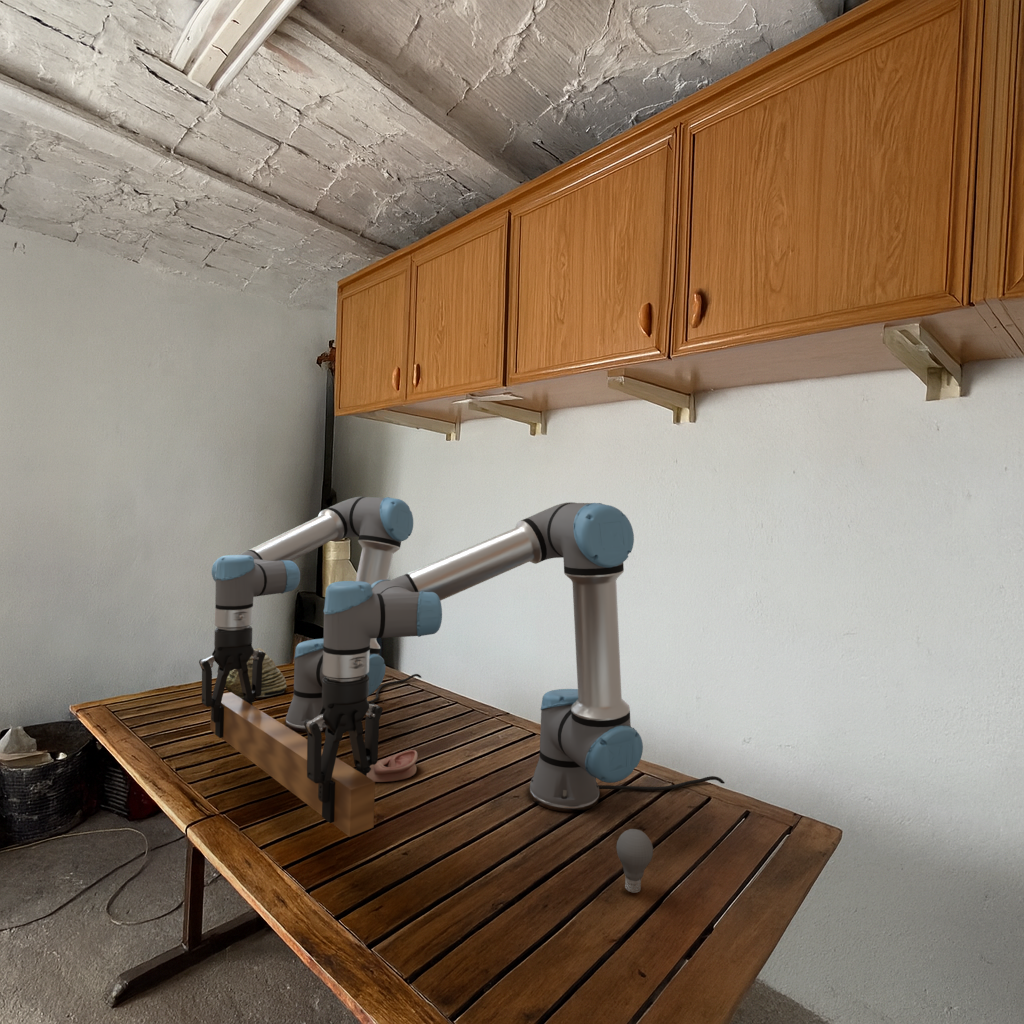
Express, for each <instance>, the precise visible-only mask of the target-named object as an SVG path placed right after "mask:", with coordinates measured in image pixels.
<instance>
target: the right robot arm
mask: <svg viewBox="0 0 1024 1024" xmlns="http://www.w3.org/2000/svg"><path fill="white" fill-rule="evenodd" d="M634 543H635V534H634V529H633V526H632V524H631V522H630V519H629V518H628V517H627V515H626V514H624V513H623V511H621V509H619V508H617V507H615V506H613V505H609V504H604V503H602V502H571V501H570V502H563V503H559V504H556V505H553V506H551V507H548V508H545V509H544V510H542V511H539V512H537V513H535V514H533V515H531V516H528V517H525V518H522V519H521V520H519V521H517V522H516V524H515V528H512V529H510V530H507V531H505V532H503V533H500V534H498V535H495V536H493V537H491V538H488V539H486V540H483V541H481V542H479V543H476V544H474V545H471V546H469V547H467V548H464V549H462V550H460V551H457V552H454V553H453V554H450V555H448V556H445V557H443V558H441V559H437V560H436V561H433V562H431V563H429V564H426V565H423V566H421V567H419V568H417V569H414V570H412V571H409V572H407V573H405V574H402V575H400V576H396V577H395V578H392V579H389V578H388V579H387V580H379V581H376V582H375V583H373V584H372V585H370V584H369V583H367V582H362V581H356V580H341V581H340V580H339V581H335V582H332V583H330V584H328V585H327V587H326V589H325V597H324V608H323V611H322V612H323V639H324V645H323V669H322V673H323V675H325V677H324V678H323V679H322V701H323V706H322V709H321V711H320V715H319V716H317V717H316V718H314V719H313V720H310V719H307V720H306V721H305V722H304V726H305V728H306V731H307V732H306V733H307V736H306V739H307V778H309V779H310V780H311V781H313V782H314V783H316V784H317V783H318V799H319V800H320V801H321V802H322V815H321V818H322V819H323V820H325V821H326V822H328V823H329V824H332V822H334V809H335V782H334V781H332V780H331V778H332V774H333V769H334V765H335V760H336V758H337V755H338V750H339V746H340V742H341V741H342V740H343V736H344V734H346V733H348V736H349V742H350V748H351V752H352V758H353V763H354V767H353V768H354V769H356V770H357V771H359V772H360V773H362V774H364V775H365V776H367V773H369V772H370V770H371V768H370V766H371V765H372V764H373V765H375V764H376V763H377V761H379V760H378V759H379V737H380V720H381V717H382V714H383V707H382V706H380V705H378V704H375V703H374V702H373V703H370V704H369V703H368V701H369V700H368V697H369V696H370V695H369V677H368V676H367V675H366V674H367V673H368V672H369V655H370V639H372V638H377V639H386V638H387V639H388V638H405V637H406V638H408V637H418V638H419V637H423V636H429V635H435V634H436V633H438V631H440V629H441V625H442V622H443V607H442V601H443V600H446V599H447V598H450V597H453V596H455V595H457V594H459V593H461V592H463V591H465V590H468V589H471V588H473V587H475V586H477V585H479V584H482V583H484V582H486V581H489V580H491V579H493V578H496V577H498V576H500V575H503V574H505V573H507V572H509V571H511V570H513V569H515V568H519V567H521V566H523V565H525V564H527V563H529V562H530V563H532V564H535V565H537V564H539V563H541V562H543V561H547V560H551V559H562V558H563V573H564V575H565V576H566V577H567V578H569V580H570V581H571V582H572V599H573V601H572V602H573V622H574V641H575V663H576V680H577V683H576V684H577V688H560V689H559V688H558V689H551V690H548V691H547V692H545V693H544V694H543V696H542V699H541V705H540V728H539V729H540V731H539V733H540V734H539V756H538V761H537V762H536V763H537V764H536V766H535V770H534V773H533V776H532V778H531V780H530V783H529V796H530V799H531V800H532V801H533V802H535V803H536V804H538V805H539V806H541V807H543V808H546V809H547V810H548V809H549V810H552V811H557V812H563V813H564V812H565V813H566V812H567V813H575V812H583V811H587V810H590V809H592V808H594V807H595V806H597V804H598V803H599V801H600V790H620V791H621V790H622V791H624V790H625V791H649V792H652V791H657V792H658V791H669V790H675V789H679V788H683V787H686V786H690V785H696V784H701V783H704V782H708V781H717V782H719V783H720V784H725V783H726V781H724V780H723V779H722V778H721V777H718V776H714V775H709V776H705V777H702V778H698V779H692V780H686V781H684V782H680V783H676V784H672V785H664V786H639V785H638V786H636V785H612V784H614V783H618V782H621V781H624V780H625V779H627V778H628V777H629V776H630V775H631V774H632V773H633V772H634V770H635V768H637V767H638V765H639V763H640V762H641V760H642V757H643V751H644V743H643V739H642V736H641V735H640V733H639V732H638V731H637V729H636V728H635V727H632V726H631V709H630V708H631V707H630V705H629V704H628V703H627V701H625V700H624V699H623V697H622V680H621V679H622V675H621V673H622V672H621V655H620V636H619V635H620V634H619V633H620V632H619V629H620V628H619V612H618V611H619V609H618V590H617V589H618V588H617V581H618V579H619V577H621V576H622V574H624V572H625V571H624V569H625V568H624V567H625V566H624V562H626V560H628V559H629V554H631V553H632V551H633V548H634ZM368 695H369V696H368ZM363 719H365V721H364V722H365V723H364V726H363ZM323 722H324V723H325V724H326V730H325V731H324V737H325V738H324V743H322V741H323V738H322V732H323V731H322V730H323V728H322V724H323ZM363 734H364V735H363ZM322 744H323V747H322ZM322 749H323V752H322ZM597 780H598V781H600V782H603V783H607V784H598V782H597ZM608 784H610V785H608Z"/></svg>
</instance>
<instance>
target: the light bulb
mask: <svg viewBox="0 0 1024 1024" xmlns="http://www.w3.org/2000/svg"><path fill="white" fill-rule="evenodd" d="M615 849H616V854H617V857H618V859H619V861H620V863H621V865H622V867H623V873H624V874H623V875H624V876H625V878H624V888H625V890H627V891H628V892H630V893H634V894H635V893H639V892H640V891H641V889H642V887H641V886H642V879H643V877H644V875H645V871H646V868H647V867H648V866H649V864H650V863H651V861H652V859H653V855H654V847H653V843H652V841H651V838H649V836H648V835H647V834H646V833H645V832H643V831H642V830H641V829H636V828H629V829H627V830H625V831H623V832H622V833H621V834H620V835H619V837H618V839H617V841H616V847H615Z"/></svg>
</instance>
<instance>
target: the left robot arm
mask: <svg viewBox="0 0 1024 1024" xmlns="http://www.w3.org/2000/svg"><path fill="white" fill-rule="evenodd" d="M413 529H414V515H413V512H412V511H411V507H410V506H409V504H408V503H407V502H406V501H404V500H402V499H400V498H393V497H389V496H387V497H383V496H381V497H379V496H355V497H352V498H348V499H345V500H343V501H340V502H337V503H335V504H333V505H331V506H329V507H327V508H325V509H322V510H321V511H319V513H318V515H317V516H316V517H314V518H312V519H310V520H308V521H306V522H304V523H302V524H300V525H297V526H296V527H294V528H291V529H289V530H287V531H285V532H282V533H281V534H278V535H277V536H274V537H273V538H271V539H268V540H267V541H264V542H262V543H260V544H258V545H256V546H254V547H252V548H249V549H247V550H245V551H243V552H241V553H238V554H227V555H222V556H219V557H218V558H217V559H215V561H214V562H213V564H212V566H211V576H212V579H213V582H214V583H215V603H214V605H215V607H214V609H215V610H214V626H215V627H216V628H215V629H214V648H213V651H212V653H211V655H210V656H208V657H206V658H200V659H199V661H198V664H199V666H200V668H201V703H202V705H204V706H205V707H207V708H210V718H211V720H212V721H213V722H214V723H215V733H214V735H215V736H216V737H218V739H222V738H223V730H224V707H223V706H221V701H222V697H223V694H224V693H225V690H226V688H225V685H226V681H227V677H228V676H229V673H230V671H231V670H234V669H237V671H238V674H239V679H240V683H241V688H242V692H243V697H244V698H242V699H243V700H244V701H246V702H248V703H249V704H251V705H253V702H254V701H255V700H256V699H255V698H260V697H259V696H260V695H261V689H262V663H263V660H264V658H265V653H266V652H265V651H264V652H265V653H264V652H262V651H260V650H257V651H256V650H254V649H255V648H254V647H253V627H252V626H251V625H253V618H254V616H253V615H254V614H253V613H254V610H253V609H254V598H255V597H260V596H261V597H263V596H270V595H277V594H281V595H283V594H285V593H289V592H292V591H295V590H296V589H297V588H298V586H299V584H300V580H301V571H300V568H299V566H298V565H297V563H296V562H294V561H295V560H297V559H299V558H301V557H302V556H305V555H307V554H309V553H311V552H312V551H314V550H316V549H318V548H320V547H322V546H324V545H325V544H328V543H329V542H335V543H336V542H339V541H340V540H343V539H346V538H354V537H355V538H358V539H357V543H358V544H359V545H360V547H361V553H360V558H359V561H358V562H359V563H358V568H357V572H356V577H355V581H362V582H367V583H369V584H370V585H372V584H373V583H375V582H376V581H379V580H387V579H388V580H389V577H390V573H391V569H392V562H393V558H394V554H395V553H396V552H398V551H399V550H400V549H401V546H402V542H404V541H406V540H408V539H409V537H411V535H412V533H413V531H414V530H413ZM377 639H378V638H372V639H370V655H369V672H368V673H367V674H366V675H367V676H368V677H369V695H368V697H370V696H371V695H372V694H374V693H375V698H373V699H370V700H367V701H368V703H369V704H372V703H373V704H374V703H375V702H377V701H378V700H379V697H380V696H379V693H380V691H381V690H382V689H383V688H384V687H386V686H390V685H394V684H400V683H404V682H407V681H409V680H411V679H412V678H415V677H417V678H419V679H422V675H420V674H419V673H414V674H411V675H410V676H408V677H406V678H403V679H399V680H394V681H389V682H386V683H383V681H384V678H385V675H386V667H387V666H386V664H385V659H384V658H383V657H382V656H381V655H380V652H381V646H380V644H379V643H378V640H377ZM323 645H324V638H315V639H314V638H313V639H308V640H304V641H302V642H299V643H298V644H297V645H296V646H295V652H294V653H295V654H294V657H293V659H294V660H293V662H294V663H293V665H294V667H293V695H292V696H293V697H292V699H291V702H290V704H289V707H288V709H287V713H286V715H285V726H286V727H288V728H290V729H291V730H293V731H294V732H301V733H307V731H306V728H305V726H304V722H305V721H306V720H307V719H310V720H313V719H314V718H316V717H317V716H319V715H320V711H321V709H322V706H323V701H322V679H323V678H324V677H325V675H323V673H322V669H323ZM251 656H252V659H253V665H252V689H251V685H250V680H249V676H248V667H247V662H248V660H249V659H250V657H251ZM214 663H216V664H217V666H218V668H217V671H216V672H217V675H216V679H215V683H214V686H213V670H212V668H213V667H214ZM382 683H383V684H382ZM375 691H376V692H375ZM322 728H323V730H322V731H321V732H325V731H326V724H325V723H324V722H323V724H322Z"/></svg>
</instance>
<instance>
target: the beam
mask: <svg viewBox="0 0 1024 1024" xmlns="http://www.w3.org/2000/svg"><path fill="white" fill-rule="evenodd" d="M243 699H244V698H240V697H238V696H236V695H235V694H233V693H232V692H229V691H228V692H224V693H223V697H222V701H221V706H223V707H224V730H223V738H221V740H223V741H224V742H225V743H227V744H228V745H229V746H231V747H232V748H233V749H235V750H236V751H237V752H239V753H240V754H241V755H242V756H244V757H245V758H246V759H247V760H249V761H250V762H251V763H253V765H255V766H257V767H258V768H259V769H261V770H262V771H263V772H264V773H266V774H267V775H268V776H269V777H271V778H273V779H274V780H275V781H276V782H277V783H279V784H280V785H281V786H282V787H284V788H285V789H287V790H288V791H289V792H290V793H292V794H293V795H294V796H295V797H297V798H298V799H299V800H301V801H302V802H303V803H305V804H306V805H307V806H308V807H310V808H311V809H312V810H314V811H315V812H316V813H317V814H319V815H321V816H322V802H321V801H320V800H319V799H318V783H317V784H316V783H314V782H313V781H311V780H310V779H309V778H307V737H304V736H303V735H301V734H300V733H298V732H297V731H295V730H292V729H290V728H288V727H287V726H286V724H284V723H282V722H280V721H278V720H277V719H275V718H274V717H272V716H270V715H269V714H267V713H266V712H264V711H262V710H261V709H259V708H258V707H256V706H254V705H253V704H252V705H251V704H249V703H248V702H246V701H244V700H243ZM209 721H210V723H209V724H210V725H209V730H210V731H211V732H213V733H214V734H215V723H214V722H213V721H212V720H211V717H210V719H209ZM322 752H323V748H322ZM354 768H355V767H352V766H351V765H349V764H347V763H346V762H344V761H342V760H341V759H340V758H338V757H336V760H335V765H334V769H333V774H332V778H331V780H332V781H334V782H335V809H334V822H332V823H331V824H332V825H333V826H334V827H336V828H337V829H338V830H339V831H341V832H342V833H343V834H345V835H346V836H348V837H349V838H351V837H354V836H357V835H359V834H361V833H363V832H366V831H368V830H370V829H373V828H374V826H375V795H376V794H375V792H376V782H375V781H373V780H372V779H370V778H368V777H367V776H365V775H364V774H362V773H360V772H359V771H357V770H356V768H355V769H354Z"/></svg>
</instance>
